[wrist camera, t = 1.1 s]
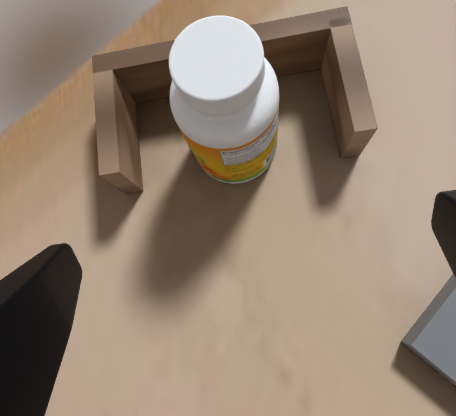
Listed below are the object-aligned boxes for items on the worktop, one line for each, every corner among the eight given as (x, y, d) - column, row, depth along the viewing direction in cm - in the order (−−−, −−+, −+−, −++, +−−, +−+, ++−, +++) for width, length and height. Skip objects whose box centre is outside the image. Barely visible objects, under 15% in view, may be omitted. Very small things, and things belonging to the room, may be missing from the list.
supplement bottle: (185, 126, 25) (134, 28, 16) (258, 97, 25) (252, -19, 16) (211, 197, 24) (173, 137, 14) (289, 167, 24) (302, 86, 14)
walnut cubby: (359, 155, 23) (377, 127, 20) (125, 193, 25) (99, 175, 21) (335, 50, 25) (347, 6, 21) (118, 90, 26) (91, 56, 22)
